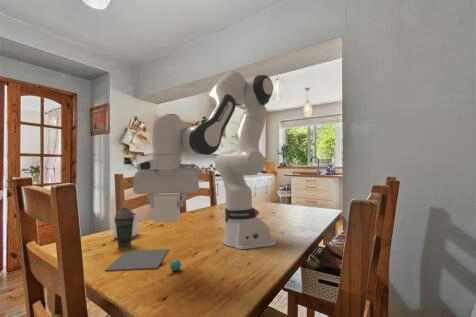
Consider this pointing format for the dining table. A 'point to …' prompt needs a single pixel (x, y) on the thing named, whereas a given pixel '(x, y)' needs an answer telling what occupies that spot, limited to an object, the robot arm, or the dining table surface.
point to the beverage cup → (124, 226)
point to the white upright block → (166, 207)
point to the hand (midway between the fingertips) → (167, 207)
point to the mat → (138, 260)
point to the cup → (134, 228)
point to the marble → (175, 265)
